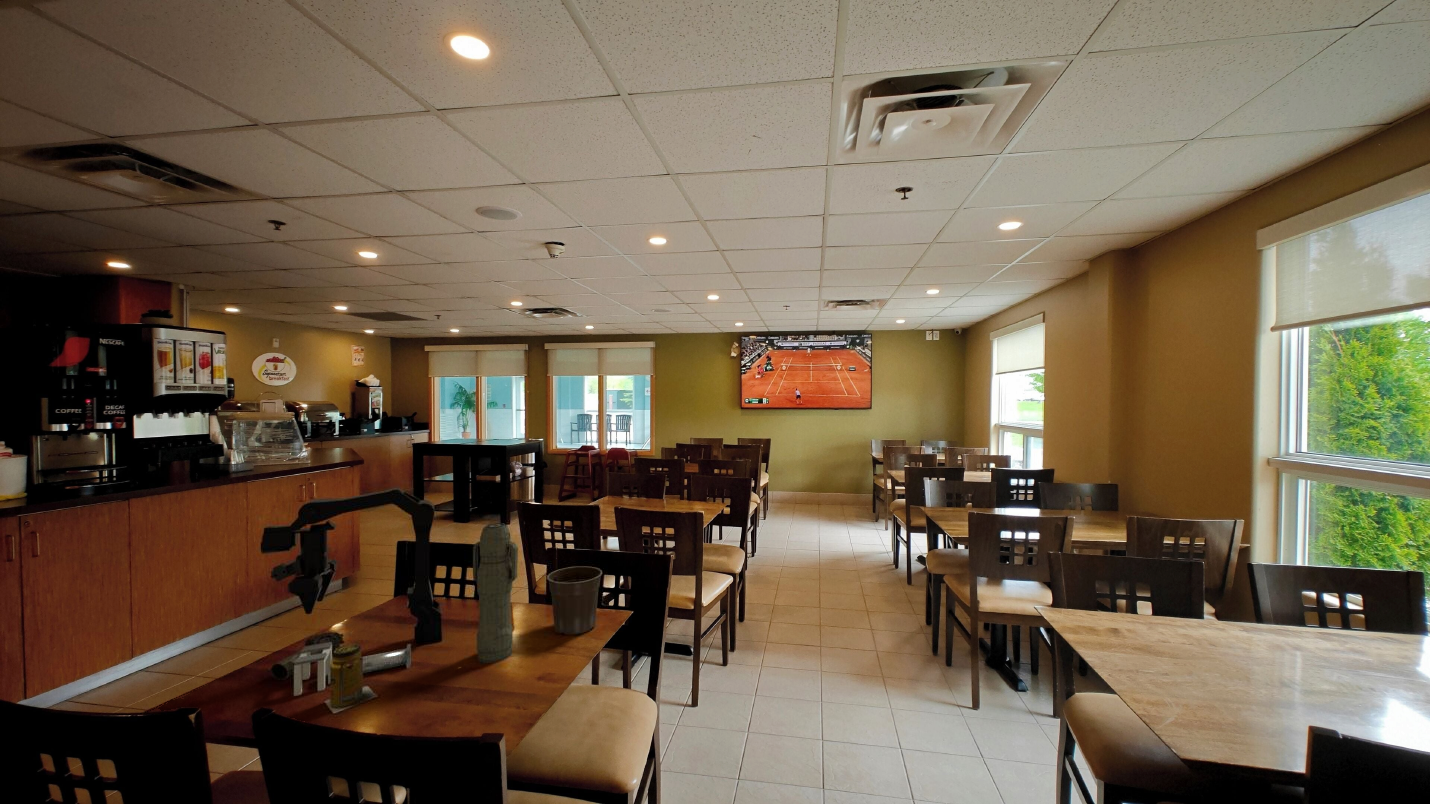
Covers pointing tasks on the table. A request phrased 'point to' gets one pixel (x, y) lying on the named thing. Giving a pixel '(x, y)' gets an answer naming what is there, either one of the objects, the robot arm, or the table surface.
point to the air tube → (384, 660)
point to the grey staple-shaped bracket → (305, 661)
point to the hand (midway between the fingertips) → (314, 607)
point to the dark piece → (286, 666)
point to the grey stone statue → (494, 592)
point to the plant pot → (574, 598)
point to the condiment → (347, 679)
